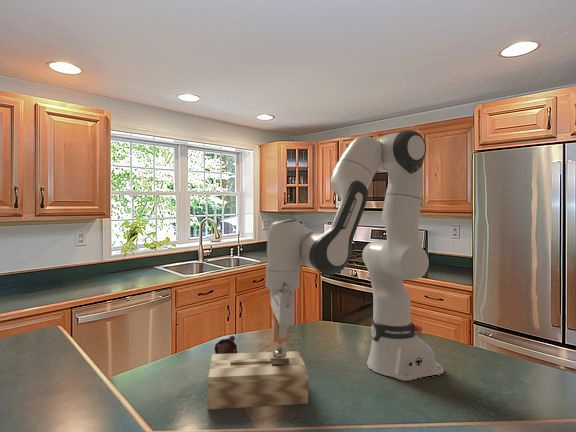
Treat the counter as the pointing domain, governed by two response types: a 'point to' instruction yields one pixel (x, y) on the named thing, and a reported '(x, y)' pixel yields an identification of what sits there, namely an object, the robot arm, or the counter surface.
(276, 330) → the wooden block
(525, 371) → the counter surface
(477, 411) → the counter surface
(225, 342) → the icecream
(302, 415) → the counter surface
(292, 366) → the keyhole plate
